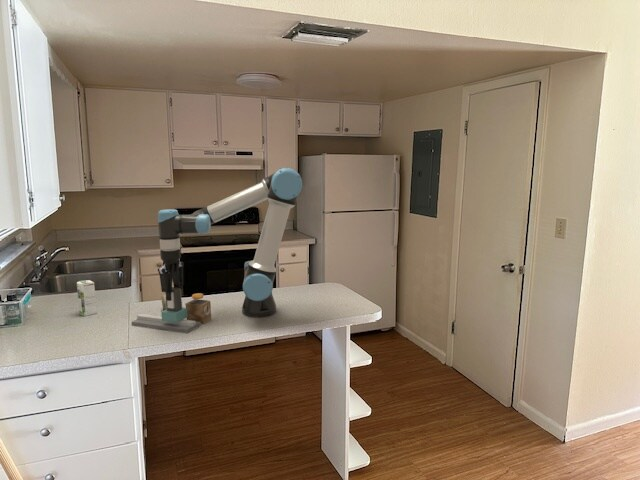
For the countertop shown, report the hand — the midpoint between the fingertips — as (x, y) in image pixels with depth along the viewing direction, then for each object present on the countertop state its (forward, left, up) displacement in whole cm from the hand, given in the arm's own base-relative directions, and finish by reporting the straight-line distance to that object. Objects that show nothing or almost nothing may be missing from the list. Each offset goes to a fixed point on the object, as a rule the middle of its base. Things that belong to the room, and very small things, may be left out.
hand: (174, 306), depth 178 cm
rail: (+4, 0, -9) cm, 10 cm away
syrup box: (+47, -1, -9) cm, 48 cm away
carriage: (0, 0, -5) cm, 5 cm away
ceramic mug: (+14, -17, -9) cm, 24 cm away
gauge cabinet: (-5, -9, -9) cm, 13 cm away
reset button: (-5, -9, +1) cm, 10 cm away
